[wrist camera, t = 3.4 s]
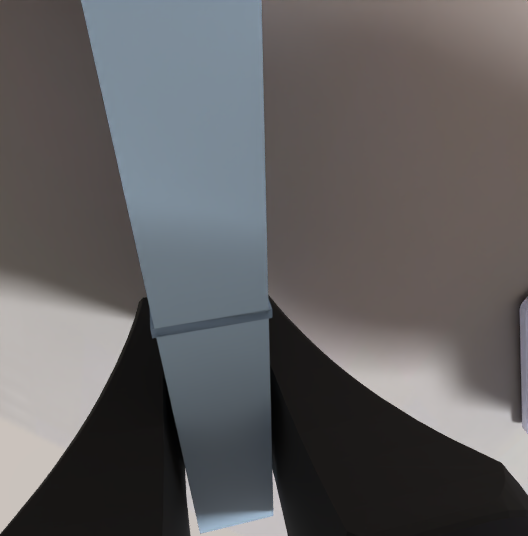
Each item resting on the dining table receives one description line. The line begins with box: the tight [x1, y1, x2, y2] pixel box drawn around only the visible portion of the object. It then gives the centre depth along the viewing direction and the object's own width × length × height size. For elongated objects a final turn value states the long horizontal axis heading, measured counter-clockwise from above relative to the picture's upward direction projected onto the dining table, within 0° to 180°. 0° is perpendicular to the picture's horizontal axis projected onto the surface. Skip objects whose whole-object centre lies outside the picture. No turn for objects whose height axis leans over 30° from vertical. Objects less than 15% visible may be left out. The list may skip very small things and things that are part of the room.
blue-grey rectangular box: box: [81, 0, 273, 533], centre depth 8 cm, size 13×2×6 cm, turn 1°
